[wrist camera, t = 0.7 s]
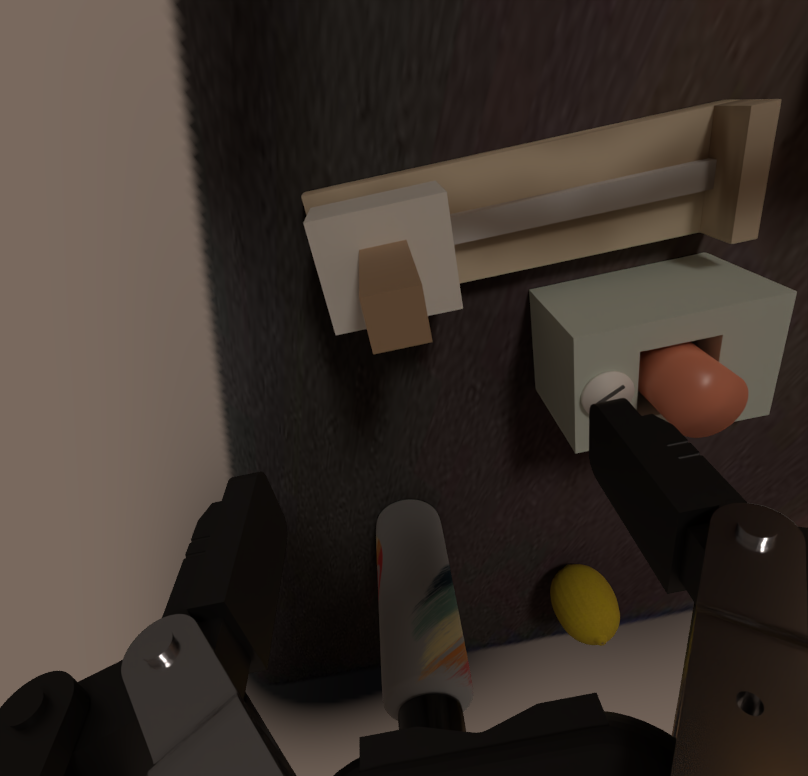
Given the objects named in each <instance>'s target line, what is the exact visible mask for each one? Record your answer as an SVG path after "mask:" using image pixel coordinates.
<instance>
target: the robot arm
mask: <svg viewBox="0 0 808 776" xmlns="http://www.w3.org/2000/svg"><path fill="white" fill-rule="evenodd" d="M589 459H590V464H591V467H592V470H593V473H594V475H595V478H596V479H597V481H598V483H599V484H600V486H601V487H602V489H603V491H604V492H605V494H606V496H607V497H608V499H609V500H610V502H611V504H612V505H613V507H614V508H615V510H616V512H617V513H618V515H619V517H620V518H621V520H622V521H623V523H624V525H625V526H626V528H627V529H628V531H629V533H630V534H631V536H632V538H633V539H634V541H635V542H636V544H637V546H638V547H639V549H640V550H641V552H642V554H643V555H644V557H645V559H646V560H647V562H648V563H649V565H650V567H651V568H652V570H653V571H654V573H655V575H656V576H657V578H658V580H659V581H660V583H661V584H662V586H663V588H664V589H665V591H666V592H667V594H670V593H675V592H680V591H685V590H687V592H688V593H689V595H690V596H691V598H692V599H693V601H694V607H693V613H692V620H691V626H690V632H689V637H688V643H687V650H686V656H685V661H684V668H683V674H682V680H681V686H680V692H679V698H678V703H677V709H676V714H675V720H674V726H673V731H672V736H671V735H670V734H668V733H667V732H665V731H663V730H661V729H659V728H657V727H655V726H653V725H651V724H649V723H647V722H644V721H642V720H639V719H636V718H633V717H630V716H626V715H623V714H618V713H614V712H605V711H604V710H603V708H602V705H601V703H600V700H599V698H598V695H597V693H592V694H586V695H581V696H576V697H571V698H565V699H560V700H555V701H549V702H544V703H540V704H536V705H534V706H532V707H530V708H529V709H527V710H525V711H523V712H521V713H519V714H517V715H515V716H513V717H511V718H510V719H507V720H506V721H504V722H502V723H500V724H498V725H496V726H494V727H492V728H490V729H488V730H486V731H484V732H480V733H471V732H463V731H454V730H444V729H435V728H426V727H412V728H407V729H401V730H396V731H391V732H386V733H380V734H375V735H370V736H365V737H360V758H358V759H356V760H354V761H352V762H351V763H350V764H348V765H346V766H345V767H344V768H342V769H341V770H339V771H338V772H337V773H336V774H335V775H334V776H808V528H804V527H798V526H797V525H796V524H795V523H794V522H793V521H791V520H790V519H789V518H788V517H786V516H784V515H783V514H781V513H779V512H777V511H775V510H773V509H770V508H768V507H765V506H761V505H758V504H752V503H747V502H746V501H745V500H744V499H743V498H742V497H741V496H740V494H739V493H738V492H737V491H736V490H735V489H734V488H733V487H732V486H731V485H730V484H729V483H728V482H727V481H726V480H725V479H724V478H723V477H722V476H721V475H720V473H719V472H718V471H717V470H716V469H715V468H714V467H713V466H712V465H711V464H710V463H709V462H708V461H707V460H706V459H705V458H704V457H703V456H702V455H701V456H700V454H699V451H698V450H697V449H696V448H695V447H694V446H693V445H692V444H691V443H688V441H687V439H686V438H685V437H684V436H683V435H682V434H681V432H680V431H679V430H678V429H677V428H676V427H675V426H674V425H673V424H671V423H669V422H667V421H665V420H663V419H661V418H659V417H657V416H655V415H654V414H649V415H644V416H641V415H640V414H639V412H638V411H637V410H636V409H635V408H634V407H633V406H632V404H631V403H630V402H629V401H628V400H627V399H625V398H619V399H614V400H610V401H605V402H600V403H595V404H592V405H591V406H590V409H589ZM191 541H192V542H191V543H190V544H189V546H188V549H187V552H186V559H184V560H183V563H182V565H181V568H180V571H179V573H178V576H177V579H176V582H175V584H174V587H173V590H172V593H171V595H170V598H169V601H168V603H167V606H166V609H165V611H164V614H163V617H162V618H161V619H159V620H158V621H156V622H154V623H153V624H151V625H149V626H148V627H147V628H146V629H144V630H143V631H142V632H141V633H140V634H139V635H138V636H137V637H136V638H135V640H134V641H133V642H132V644H131V645H130V646H129V648H128V650H127V652H126V654H125V656H124V659H123V660H121V661H119V662H118V663H116V664H114V665H112V666H109V667H107V668H105V669H103V670H101V671H99V672H98V673H95V674H93V675H91V676H89V677H87V678H85V679H83V680H81V681H79V682H77V681H76V680H75V679H74V678H73V677H72V676H71V675H69V674H68V673H66V672H63V671H53V672H48V673H45V674H43V675H40V676H38V677H36V678H34V679H32V680H31V681H29V682H28V683H26V684H25V685H23V686H22V687H21V688H19V689H18V690H17V691H16V692H15V693H14V694H13V695H12V696H11V697H10V698H8V699H7V701H6V702H5V703H4V704H3V705H2V706H1V708H0V776H296V774H295V773H294V771H293V769H292V768H291V766H290V765H289V763H288V761H287V760H286V758H285V756H284V755H283V753H282V752H281V750H280V748H279V746H278V745H277V743H276V742H275V740H274V738H273V737H272V735H271V733H270V732H269V730H268V729H267V727H266V725H265V723H264V722H263V720H262V718H261V717H260V715H259V713H258V712H257V710H256V709H255V707H254V705H253V704H252V702H251V700H250V698H249V697H248V695H247V694H246V692H245V690H246V684H247V679H248V674H249V673H254V672H259V671H264V670H267V667H268V661H269V654H270V648H271V641H272V635H273V629H274V622H275V616H276V609H277V603H278V596H279V590H280V583H281V577H282V570H283V564H284V557H285V551H286V545H287V525H286V521H285V517H284V514H283V512H282V510H281V508H280V505H279V503H278V501H277V499H276V497H275V494H274V492H273V490H272V488H271V486H270V483H269V481H268V479H267V477H266V475H265V474H264V473H263V472H257V473H252V474H247V475H242V476H237V477H232V478H230V479H229V481H228V483H227V487H226V490H225V493H224V496H223V499H222V501H220V502H215V503H212V504H211V505H210V506H209V508H208V509H207V510H206V512H205V513H204V514H203V515H202V516H201V518H200V519H199V520H198V522H197V525H196V528H195V530H194V533H193V536H192V539H191Z"/></svg>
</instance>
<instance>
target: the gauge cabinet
mask: <svg viewBox="0 0 808 776" xmlns="http://www.w3.org/2000/svg"><path fill="white" fill-rule="evenodd" d="M796 294H797V291H794V290H792V289H790V288H787V287H785V286H783V285H780V284H778V283H776V282H773V281H771V280H769V279H766V278H764V277H762V276H759V275H757V274H755V273H752V272H750V271H748V270H745V269H743V268H741V267H738V266H736V265H734V264H731V263H729V262H727V261H724V260H722V259H720V258H717V257H715V256H713V255H710V254H708V253H706V252H705V253H700V254H695V255H691V256H686V257H681V258H676V259H672V260H667V261H662V262H657V263H653V264H648V265H643V266H639V267H634V268H629V269H624V270H620V271H615V272H610V273H606V274H601V275H596V276H591V277H587V278H582V279H577V280H573V281H568V282H563V283H558V284H554V285H549V286H544V287H540V288H535V289H530V290H529V296H530V312H531V327H532V343H533V358H534V374H535V389H536V391H537V392H538V394H539V395H540V397H541V399H542V400H543V402H544V404H545V405H546V407H547V408H548V410H549V412H550V413H551V415H552V416H553V418H554V420H555V421H556V423H557V424H558V426H559V428H560V429H561V431H562V433H563V434H564V436H565V437H566V439H567V441H568V442H569V444H570V445H571V447H572V449H573V450H574V452H575V453H581V452H586V451H589V409H590V406H591V405H592V404H595V403H600V402H605V401H610V400H614V399H619V398H625V399H627V400H628V401H629V402H630V403H631V404H632V406H633V407H634V408H635V409H636V410H637V411H638V412H639V414H640V415H641V416H644V415H649V414H654V415H655V416H657V417H659V418H661V419H663V420H665V421H667V420H666V419H665V418H664V417H663V416H662V415H661V414H660V413H659V412H658V411H657V410H656V409H655V408H654V407H653V406H652V405H651V403H650V402H649V401H648V400H647V399H646V398H645V397H644V396H643V395H642V394H641V393H640V392H639V391H638V379H639V363H640V352H642V351H647V350H652V349H656V348H661V347H666V346H671V345H676V344H681V343H685V342H692V343H693V344H694V345H696V346H697V347H699V348H700V349H701V350H703V351H704V352H706V353H707V354H708V355H710V356H711V357H713V358H714V359H715V360H717V361H718V362H720V363H721V364H722V365H724V366H725V367H727V368H728V369H729V370H731V371H732V372H734V373H735V374H736V375H738V376H739V377H740V378H742V379H743V380H744V381H745V383H746V385H747V387H748V394H749V395H748V401H747V404H746V406H745V408H744V410H743V412H742V413H741V415H740V416H739V417H738V418H737V419H736V420H735V421H739V420H744V419H749V418H754V417H759V416H764V415H769V412H770V408H771V404H772V399H773V395H774V390H775V386H776V382H777V377H778V373H779V368H780V364H781V360H782V355H783V351H784V346H785V342H786V338H787V333H788V329H789V324H790V320H791V316H792V311H793V307H794V302H795V298H796ZM667 422H668V421H667Z"/></svg>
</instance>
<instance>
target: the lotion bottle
mask: <svg viewBox="0 0 808 776" xmlns="http://www.w3.org/2000/svg"><path fill="white" fill-rule="evenodd" d="M376 550H377V575H378V600H379V625H380V650H381V675H382V692H383V693H382V695H383V703H384V708H385V710H386V711H387V713H388V714H389V715H390V716H391V717H392V718H394V719H396V720H398V723H399V730H401V729H407V728H412V727H426V728H435V729H444V730H454V731H463V732H466V728H465V722H464V716H463V712H464V711H465V710H466V709H467V708H468V707H469V705H470V703H471V701H472V699H473V686H472V680H471V674H470V669H469V663H468V658H467V653H466V648H465V643H464V638H463V633H462V628H461V623H460V617H459V612H458V607H457V602H456V597H455V592H454V587H453V582H452V577H451V572H450V566H449V561H448V556H447V551H446V546H445V541H444V536H443V531H442V526H441V522H440V519H439V516H438V514H437V512H436V510H435V509H434V508H433V507H432V506H430V505H429V504H427V503H425V502H423V501H419V500H411V499H409V500H401V501H398V502H395V503H392V504H391V505H389V506H387V507H386V508H385V509H384V510H383V511H382V512H381V513H380V515H379V517H378V519H377V523H376Z"/></svg>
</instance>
